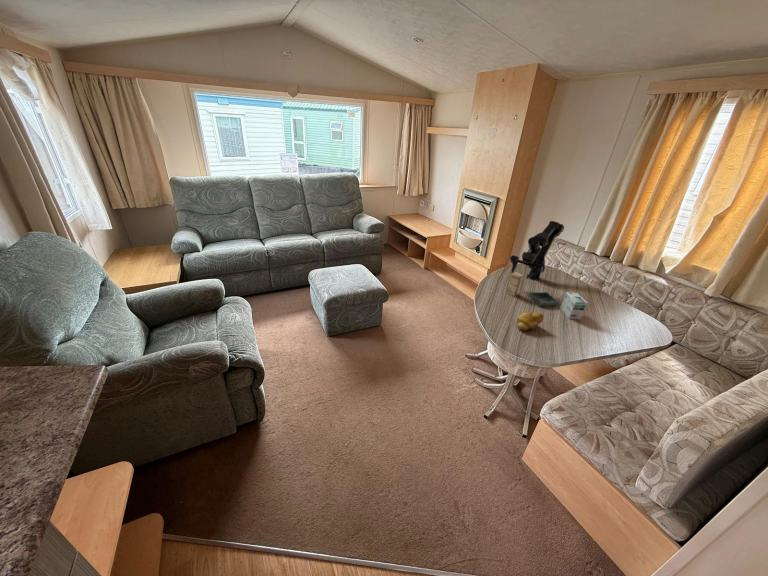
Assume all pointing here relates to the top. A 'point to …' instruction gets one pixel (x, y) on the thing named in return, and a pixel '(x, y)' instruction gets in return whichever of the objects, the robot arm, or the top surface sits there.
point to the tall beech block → (514, 283)
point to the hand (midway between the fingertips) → (519, 275)
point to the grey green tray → (543, 299)
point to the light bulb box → (573, 305)
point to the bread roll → (529, 320)
